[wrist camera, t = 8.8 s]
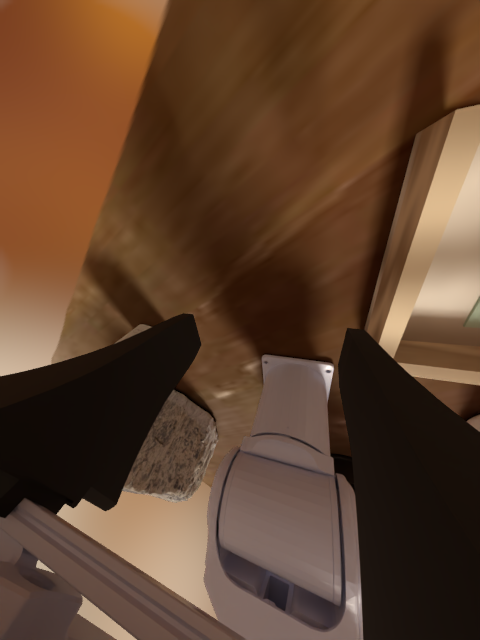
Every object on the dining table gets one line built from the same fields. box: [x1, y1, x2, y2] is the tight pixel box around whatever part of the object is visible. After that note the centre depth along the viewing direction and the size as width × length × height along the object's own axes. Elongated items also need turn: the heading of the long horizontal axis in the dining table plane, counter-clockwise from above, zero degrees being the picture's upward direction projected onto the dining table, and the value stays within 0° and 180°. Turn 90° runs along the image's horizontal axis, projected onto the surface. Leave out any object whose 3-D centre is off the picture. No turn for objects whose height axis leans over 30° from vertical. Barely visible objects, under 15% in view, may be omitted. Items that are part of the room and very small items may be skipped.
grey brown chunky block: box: [122, 390, 218, 503], centre depth 34 cm, size 19×17×15 cm
